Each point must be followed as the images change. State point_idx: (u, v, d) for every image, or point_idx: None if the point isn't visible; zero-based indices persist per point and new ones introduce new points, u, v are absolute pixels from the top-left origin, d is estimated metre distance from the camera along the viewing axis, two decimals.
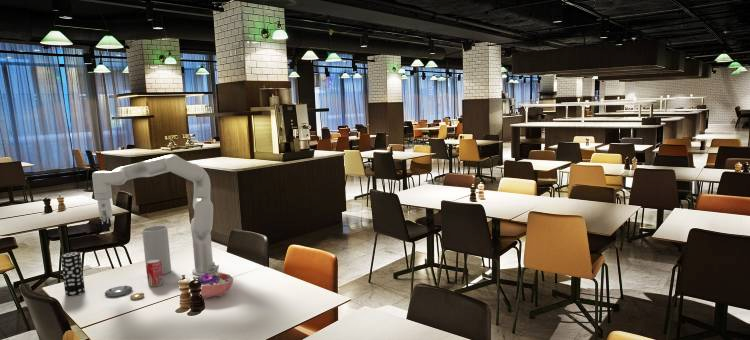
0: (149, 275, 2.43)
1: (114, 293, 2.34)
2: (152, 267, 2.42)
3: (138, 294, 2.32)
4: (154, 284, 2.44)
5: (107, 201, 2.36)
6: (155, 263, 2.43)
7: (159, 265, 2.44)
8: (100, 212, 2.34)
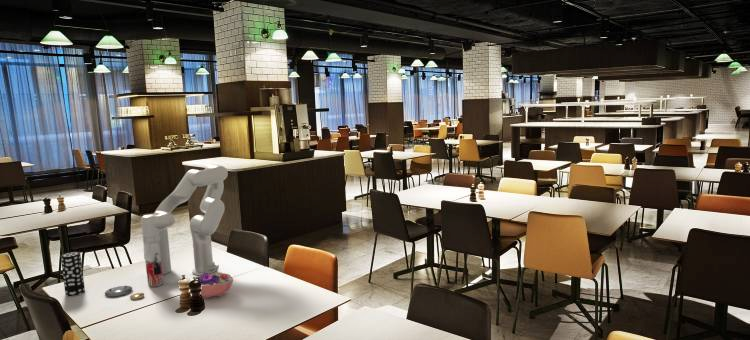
0: (149, 275, 2.43)
1: (114, 293, 2.34)
2: (152, 267, 2.42)
3: (138, 294, 2.32)
4: (154, 284, 2.43)
5: None
6: (155, 263, 2.43)
7: None
8: None
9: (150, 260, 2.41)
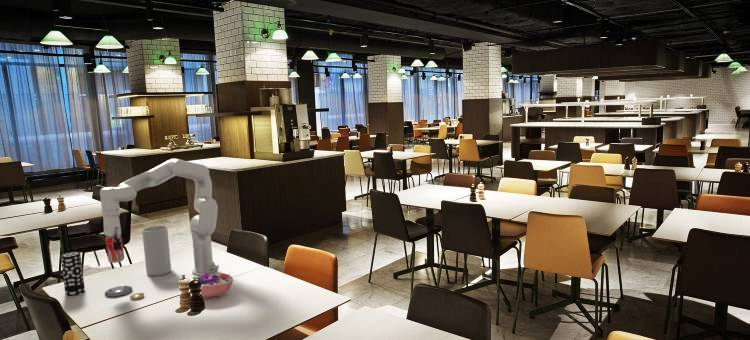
0: (108, 250, 2.32)
1: (114, 293, 2.34)
2: (112, 241, 2.31)
3: (138, 294, 2.32)
4: (114, 260, 2.33)
5: None
6: (115, 238, 2.32)
7: None
8: None
9: (109, 234, 2.30)
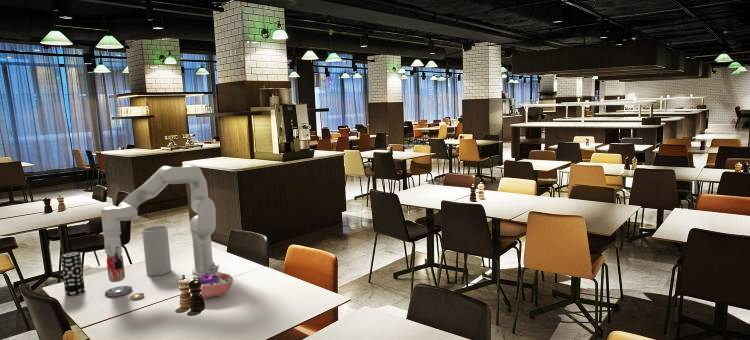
0: (109, 270, 2.33)
1: (114, 293, 2.34)
2: (112, 261, 2.32)
3: (138, 294, 2.32)
4: (115, 279, 2.34)
5: None
6: (116, 257, 2.33)
7: None
8: None
9: (110, 254, 2.31)
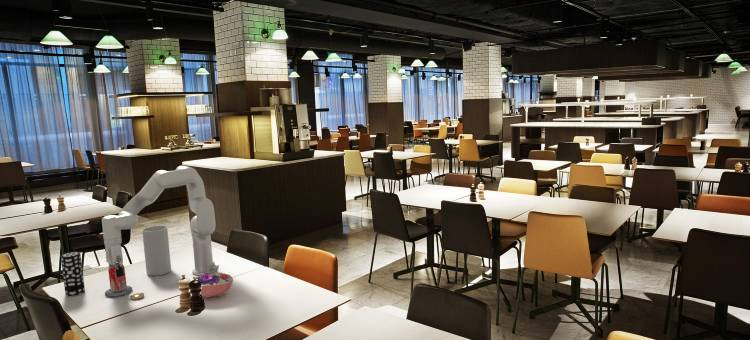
0: (111, 280, 2.34)
1: (114, 293, 2.34)
2: (114, 271, 2.33)
3: (138, 294, 2.32)
4: (116, 289, 2.35)
5: None
6: None
7: None
8: None
9: (111, 263, 2.32)
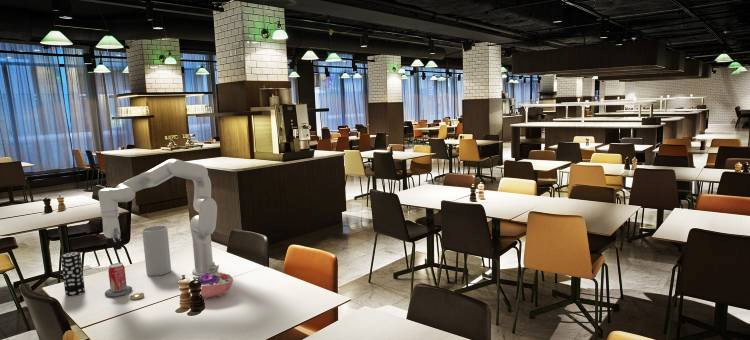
0: (111, 280, 2.34)
1: (114, 293, 2.34)
2: (114, 271, 2.33)
3: (138, 294, 2.32)
4: (116, 289, 2.35)
5: None
6: (117, 267, 2.34)
7: (122, 269, 2.36)
8: None
9: (109, 236, 2.30)
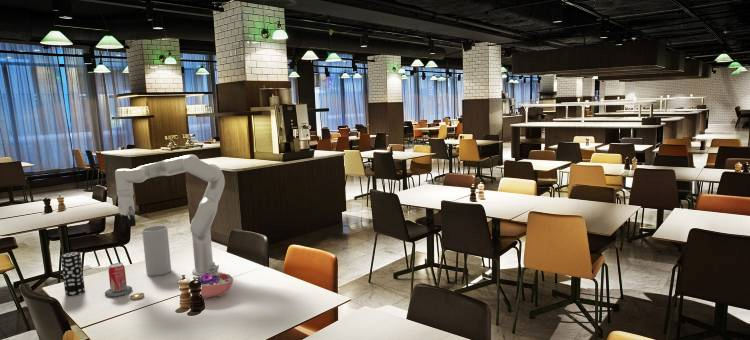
0: (111, 280, 2.34)
1: (114, 293, 2.34)
2: (114, 271, 2.33)
3: (138, 294, 2.32)
4: (116, 289, 2.35)
5: None
6: (118, 267, 2.34)
7: (122, 269, 2.36)
8: None
9: (124, 213, 2.45)
